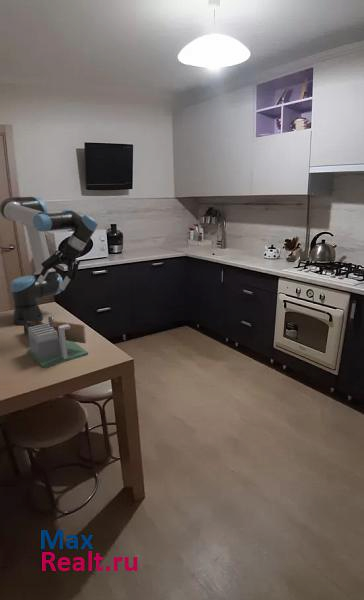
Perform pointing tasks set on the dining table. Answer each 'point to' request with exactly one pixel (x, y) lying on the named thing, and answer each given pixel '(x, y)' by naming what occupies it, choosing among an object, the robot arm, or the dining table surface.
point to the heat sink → (52, 345)
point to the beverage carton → (31, 325)
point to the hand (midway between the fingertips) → (50, 285)
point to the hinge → (70, 330)
